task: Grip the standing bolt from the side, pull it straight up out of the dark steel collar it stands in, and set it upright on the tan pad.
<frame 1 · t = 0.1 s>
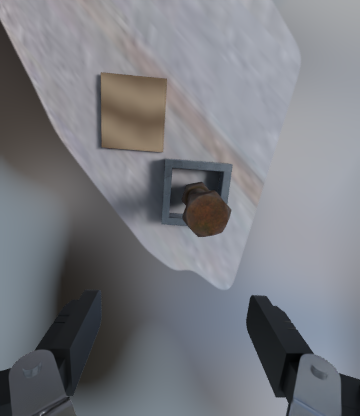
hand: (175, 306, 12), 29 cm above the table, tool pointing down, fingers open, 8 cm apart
bolt: (194, 191, 40), resting in steel collar
steel collar: (194, 191, 40), on the table
tan pad: (134, 115, 36), on the table
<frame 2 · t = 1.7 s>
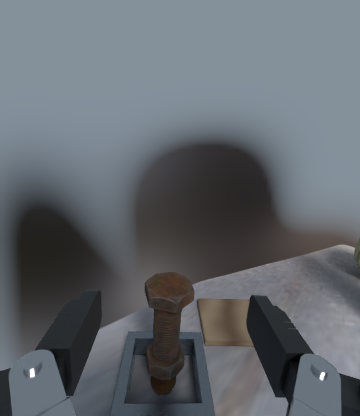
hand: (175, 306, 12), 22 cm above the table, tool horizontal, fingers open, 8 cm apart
bolt: (163, 385, 29), resting in steel collar
steel collar: (163, 384, 29), on the table
tan pad: (230, 322, 40), on the table
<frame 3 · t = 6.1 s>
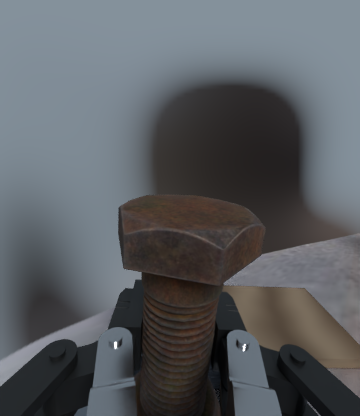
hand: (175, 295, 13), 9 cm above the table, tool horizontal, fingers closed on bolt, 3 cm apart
tan pad: (280, 323, 24), on the table
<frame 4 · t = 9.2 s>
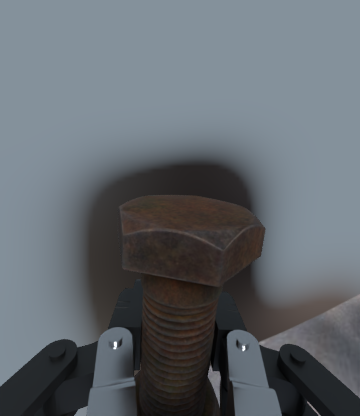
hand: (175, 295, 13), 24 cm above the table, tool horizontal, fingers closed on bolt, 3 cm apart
when the fingers open (11 cm above the table, at t = 12.1 s): bolt drops 1 cm, resting on tan pad.
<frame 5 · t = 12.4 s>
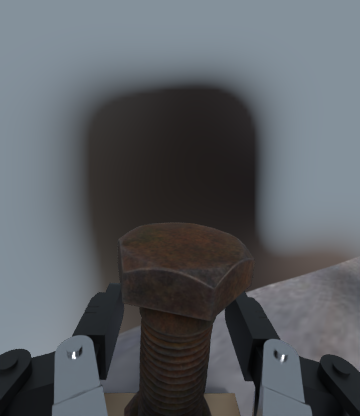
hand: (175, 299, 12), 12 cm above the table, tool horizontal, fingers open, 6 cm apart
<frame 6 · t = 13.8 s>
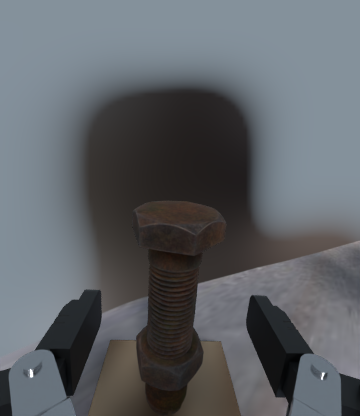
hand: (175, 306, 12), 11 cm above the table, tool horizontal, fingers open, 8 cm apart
bolt: (165, 397, 17), point 1 cm above the table, touching tan pad
tan pad: (165, 403, 18), on the table
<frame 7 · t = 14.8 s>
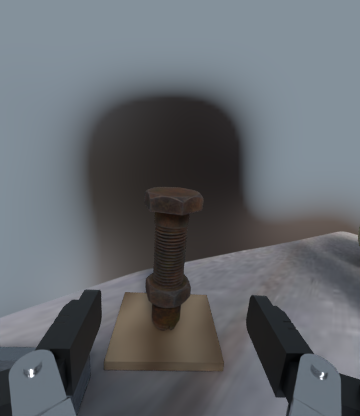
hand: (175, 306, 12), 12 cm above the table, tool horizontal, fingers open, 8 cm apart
bolt: (165, 323, 25), point 1 cm above the table, touching tan pad
tan pad: (165, 328, 26), on the table
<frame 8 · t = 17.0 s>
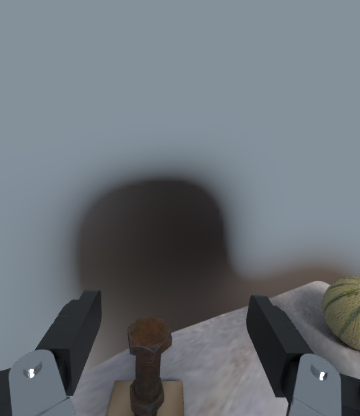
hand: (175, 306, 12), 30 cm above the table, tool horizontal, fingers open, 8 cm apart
cantaloupe: (352, 341, 49), on the table
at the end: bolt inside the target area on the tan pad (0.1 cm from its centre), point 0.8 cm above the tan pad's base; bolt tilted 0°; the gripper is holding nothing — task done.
